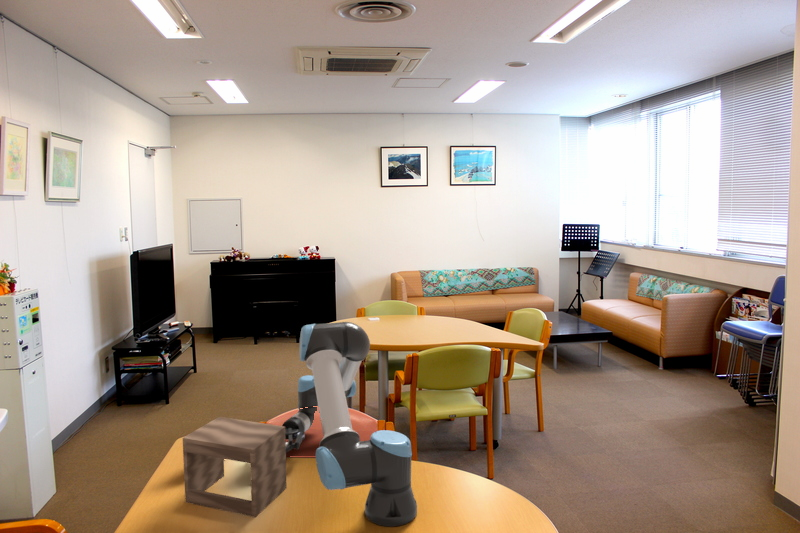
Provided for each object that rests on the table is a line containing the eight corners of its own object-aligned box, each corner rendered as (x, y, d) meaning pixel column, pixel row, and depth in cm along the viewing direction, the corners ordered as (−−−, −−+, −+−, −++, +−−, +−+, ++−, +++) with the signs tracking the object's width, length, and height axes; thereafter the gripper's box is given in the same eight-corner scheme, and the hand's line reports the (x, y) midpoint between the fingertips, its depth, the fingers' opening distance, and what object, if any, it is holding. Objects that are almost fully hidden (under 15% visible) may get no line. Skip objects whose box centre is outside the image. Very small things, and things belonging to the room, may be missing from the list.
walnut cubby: (221, 475, 180) (219, 416, 178) (286, 488, 173) (285, 426, 170) (185, 502, 164) (182, 437, 162) (255, 517, 156) (253, 449, 154)
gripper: (324, 440, 199) (293, 468, 178) (268, 431, 206) (233, 457, 185) (323, 420, 198) (293, 445, 177) (268, 412, 205) (232, 436, 184)
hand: (262, 451), depth 181 cm, fingers open, 10 cm apart
